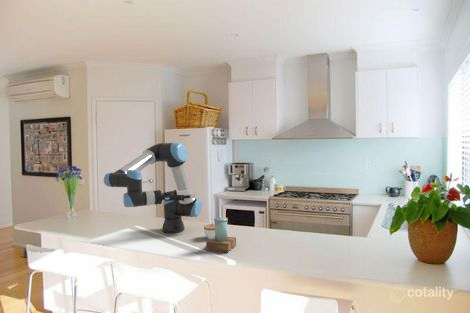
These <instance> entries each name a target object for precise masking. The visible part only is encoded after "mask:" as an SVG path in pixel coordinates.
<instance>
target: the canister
mask: <svg viewBox="0 0 470 313" xmlns="http://www.w3.org/2000/svg"><path fill="white" fill-rule="evenodd" d="M213 221H214V224H215V241H218V242H223V241H227V237H228V217H224V216H219V217H215V218H214V219H213Z"/></svg>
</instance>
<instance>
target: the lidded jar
mask: <svg viewBox="0 0 470 313" xmlns="http://www.w3.org/2000/svg"><path fill="white" fill-rule="evenodd" d="M203 232H204V235H205V237H206V238H207V240H210V239H212V238H213V237H214V236H215V223H213V222H212V223H210V224H205V225H204V226H203Z"/></svg>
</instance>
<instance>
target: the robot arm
mask: <svg viewBox="0 0 470 313" xmlns="http://www.w3.org/2000/svg"><path fill="white" fill-rule="evenodd" d="M187 158H188V150H187V148H186V146H185V145H184V144H183V143H181V142H160V143H156V144H154V145H151V146H150V147H148V148H146V149H145V150H143V151H142V153H141V154H140V155H138V157H135V158H134V159H133V160H131V161H129V162H128V163H126V164H124V165H123V166H122V167H121V168H118V169H117V170H116V171H114V172H107V173H106V174H105V175H104V177H103V183H104V186H106V187H111V188H126V190H127V192H126V193H125V192H124V193H123V196H122V197H123V198H122V199H123V200H122V201H123V206H124V207H125V208H136V207H137V208H138V207H144V206H145V207H146V206H147V207H150V206H152V205H161V204H162V203H163V213H164V220H163V223H162V228H161V229H162V230H161V231H162V233H165V232H166V233H165V234H174V233H175V232H177V233H182V232H183V230H184V231H185V224H184V221H183V219H182V217H188V218H189V217H190V218H197V217H198V216H199V215H200V214H201V212H202V205H203V204H202V201H201V199H197V196H196V194H197V193H193V191H192V187H191V184H190V180H189V178H188V173H187V170H186V167H185V163H186V160H187ZM159 162H160V163H161V162H165V163H166V166H167V167H168V168H169V169H170V170H171V173H172V175H173V176H172V177H173V179H174V182H175V186H176V189H174V190H170V191H165V192H162V191H161V190H160V189H159V190H147V191H146V190H145V191H143V177H142V170H144V169H145V168H146V167H148V166H149V165H153V164H155V163H159Z"/></svg>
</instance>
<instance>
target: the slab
mask: <svg viewBox="0 0 470 313" xmlns="http://www.w3.org/2000/svg"><path fill="white" fill-rule="evenodd" d="M235 247H237V236H236V237H233V236H227V241H223V242H218V241H215V236H214V237H213V238H212V239H208V240H207V241H206V249H205V250H206V252H212V251H216V252H215V253H222V252H229V251H230V250H231V249H232V250H234V249H235ZM232 250H231V251H232ZM231 251H230V252H231ZM230 252H229V253H230Z"/></svg>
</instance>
